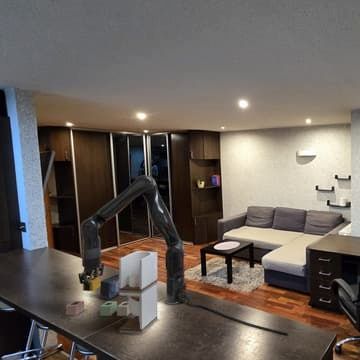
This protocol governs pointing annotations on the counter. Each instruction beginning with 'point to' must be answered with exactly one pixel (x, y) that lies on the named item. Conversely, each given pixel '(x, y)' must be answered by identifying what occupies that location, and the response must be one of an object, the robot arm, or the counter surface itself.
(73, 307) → the blush block
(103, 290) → the small box
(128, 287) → the white shelf unit
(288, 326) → the counter surface
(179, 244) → the robot arm
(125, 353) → the counter surface
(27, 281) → the counter surface
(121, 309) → the cream block
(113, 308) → the sage block
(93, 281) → the mustard block
